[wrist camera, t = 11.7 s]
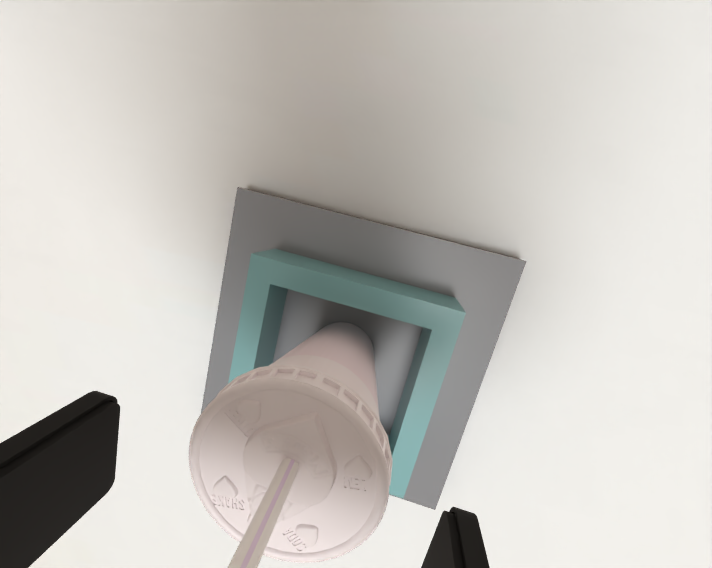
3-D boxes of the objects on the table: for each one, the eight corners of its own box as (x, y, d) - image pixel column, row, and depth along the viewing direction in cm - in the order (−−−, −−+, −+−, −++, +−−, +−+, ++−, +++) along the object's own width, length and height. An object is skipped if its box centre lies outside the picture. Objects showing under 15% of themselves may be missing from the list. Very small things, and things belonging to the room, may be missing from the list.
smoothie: (417, 331, 18) (459, 650, 5) (367, 420, 20) (285, 862, 6) (316, 279, 19) (76, 437, 5) (273, 371, 20) (-3, 688, 6)
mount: (246, 188, 19) (205, 180, 15) (519, 259, 18) (551, 269, 14) (207, 421, 23) (166, 463, 19) (433, 496, 21) (440, 558, 17)
